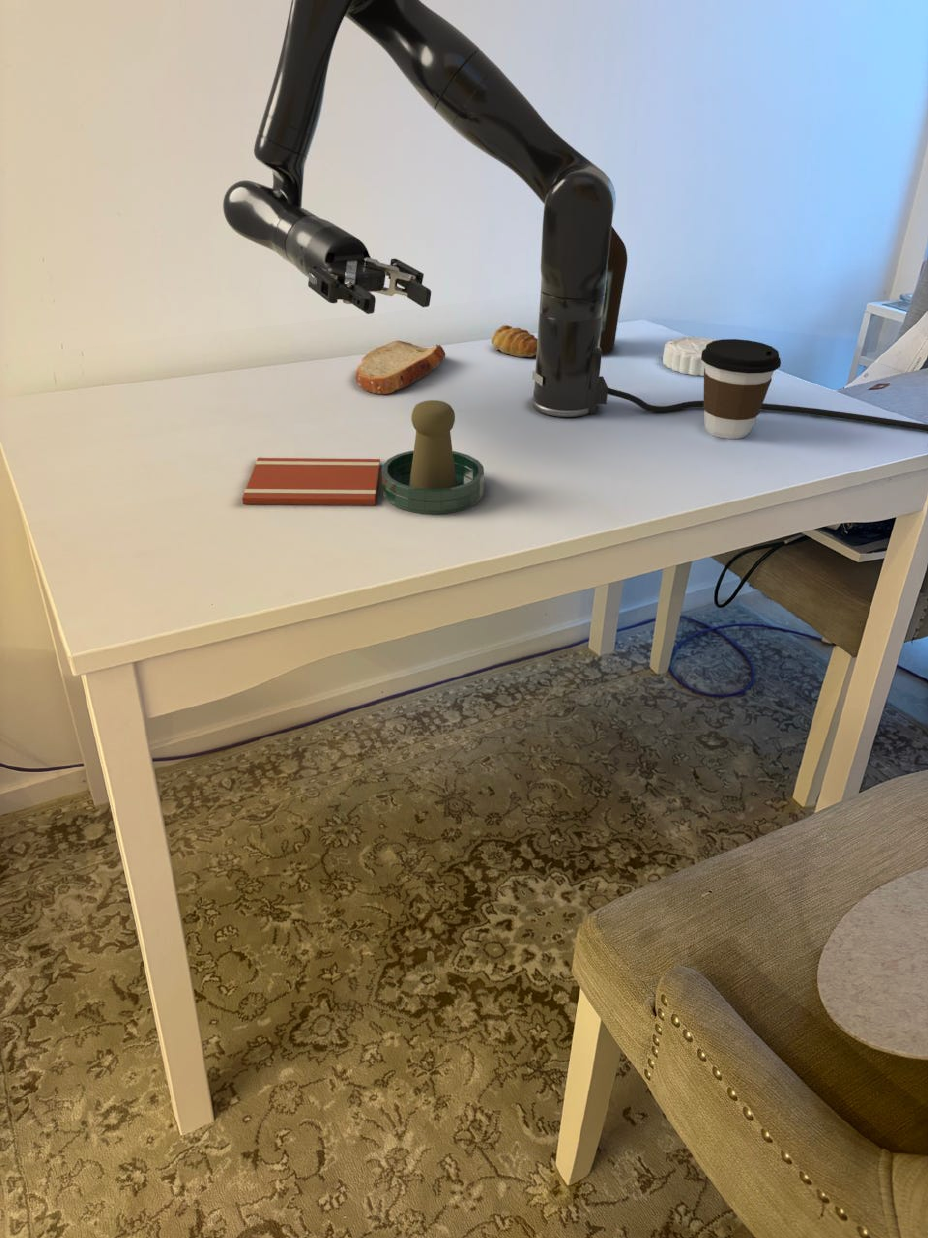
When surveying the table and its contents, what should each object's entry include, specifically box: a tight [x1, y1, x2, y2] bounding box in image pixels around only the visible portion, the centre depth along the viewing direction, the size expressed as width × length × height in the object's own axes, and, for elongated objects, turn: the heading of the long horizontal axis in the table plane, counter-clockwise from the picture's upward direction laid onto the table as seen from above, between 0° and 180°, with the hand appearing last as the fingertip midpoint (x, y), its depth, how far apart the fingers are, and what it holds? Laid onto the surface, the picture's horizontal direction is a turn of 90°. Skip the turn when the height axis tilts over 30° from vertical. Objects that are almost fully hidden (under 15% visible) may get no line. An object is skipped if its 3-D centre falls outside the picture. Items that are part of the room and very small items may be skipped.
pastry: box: [491, 324, 538, 358], centre depth 161 cm, size 9×7×4 cm
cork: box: [409, 399, 457, 489], centre depth 111 cm, size 6×6×11 cm
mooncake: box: [662, 336, 718, 377], centre depth 157 cm, size 12×12×4 cm
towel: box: [241, 457, 381, 506], centre depth 115 cm, size 16×12×1 cm
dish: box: [381, 449, 485, 515], centre depth 113 cm, size 13×13×3 cm
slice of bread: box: [355, 340, 446, 395], centre depth 150 cm, size 18×18×4 cm
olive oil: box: [600, 226, 628, 356], centre depth 158 cm, size 11×11×25 cm
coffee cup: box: [701, 338, 782, 440], centre depth 130 cm, size 11×11×12 cm
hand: (401, 302), depth 111 cm, fingers open, 8 cm apart
